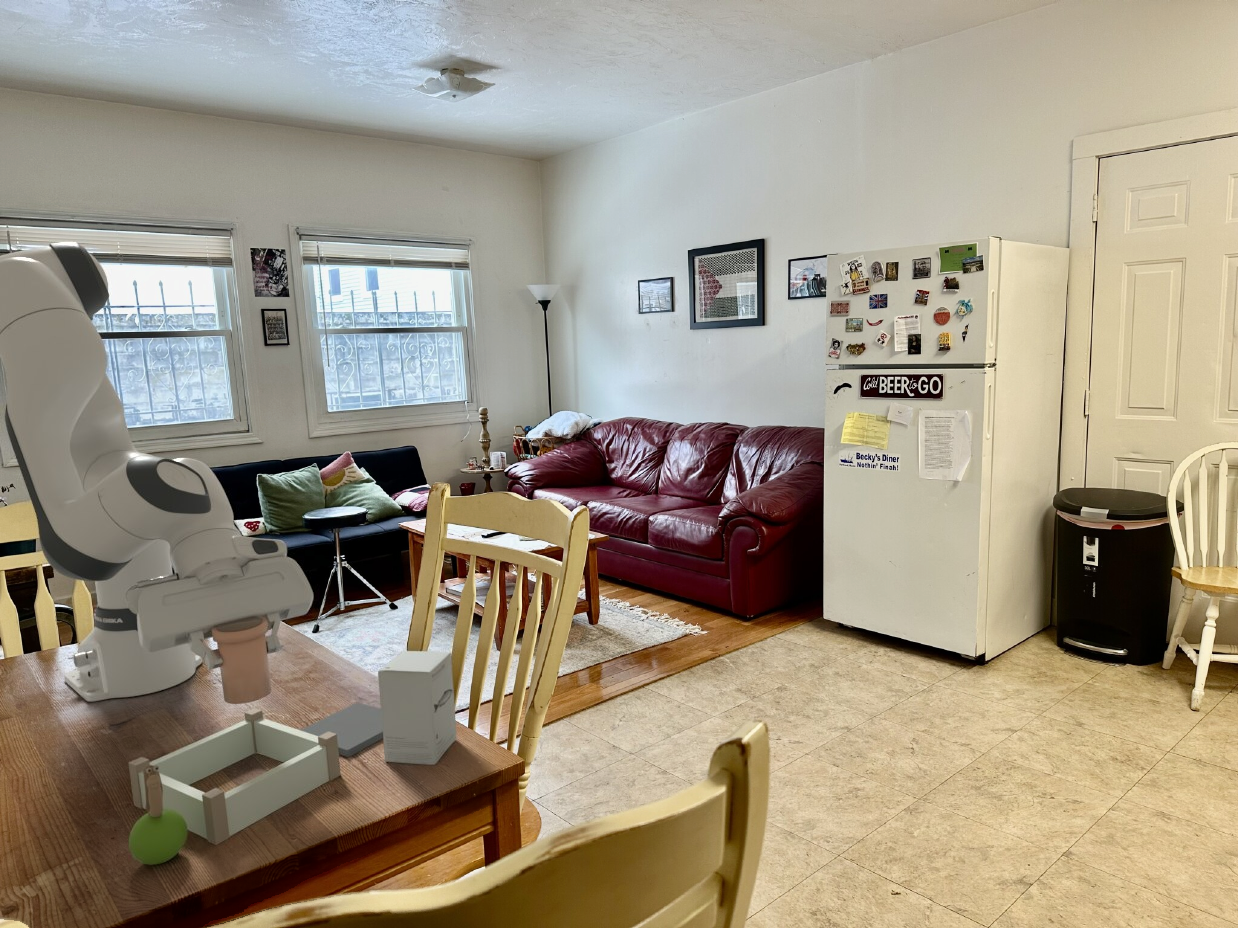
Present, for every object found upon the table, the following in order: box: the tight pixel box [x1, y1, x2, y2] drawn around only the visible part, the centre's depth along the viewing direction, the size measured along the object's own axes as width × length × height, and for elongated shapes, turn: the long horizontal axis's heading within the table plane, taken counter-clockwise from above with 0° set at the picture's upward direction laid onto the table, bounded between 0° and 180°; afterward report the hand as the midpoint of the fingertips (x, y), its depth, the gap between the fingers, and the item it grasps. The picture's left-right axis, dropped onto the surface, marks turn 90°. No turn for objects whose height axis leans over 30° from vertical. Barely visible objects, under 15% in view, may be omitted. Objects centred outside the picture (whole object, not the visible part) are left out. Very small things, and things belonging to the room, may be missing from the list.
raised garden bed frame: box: [128, 707, 342, 846], centre depth 101 cm, size 17×17×6 cm
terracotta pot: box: [212, 616, 272, 705], centre depth 101 cm, size 6×6×9 cm
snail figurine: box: [128, 765, 188, 865], centre depth 87 cm, size 5×6×12 cm
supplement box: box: [377, 650, 458, 766], centre depth 109 cm, size 7×7×13 cm
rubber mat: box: [299, 702, 383, 758], centre depth 116 cm, size 11×11×1 cm
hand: (245, 658), depth 101 cm, fingers closed on terracotta pot, 5 cm apart
